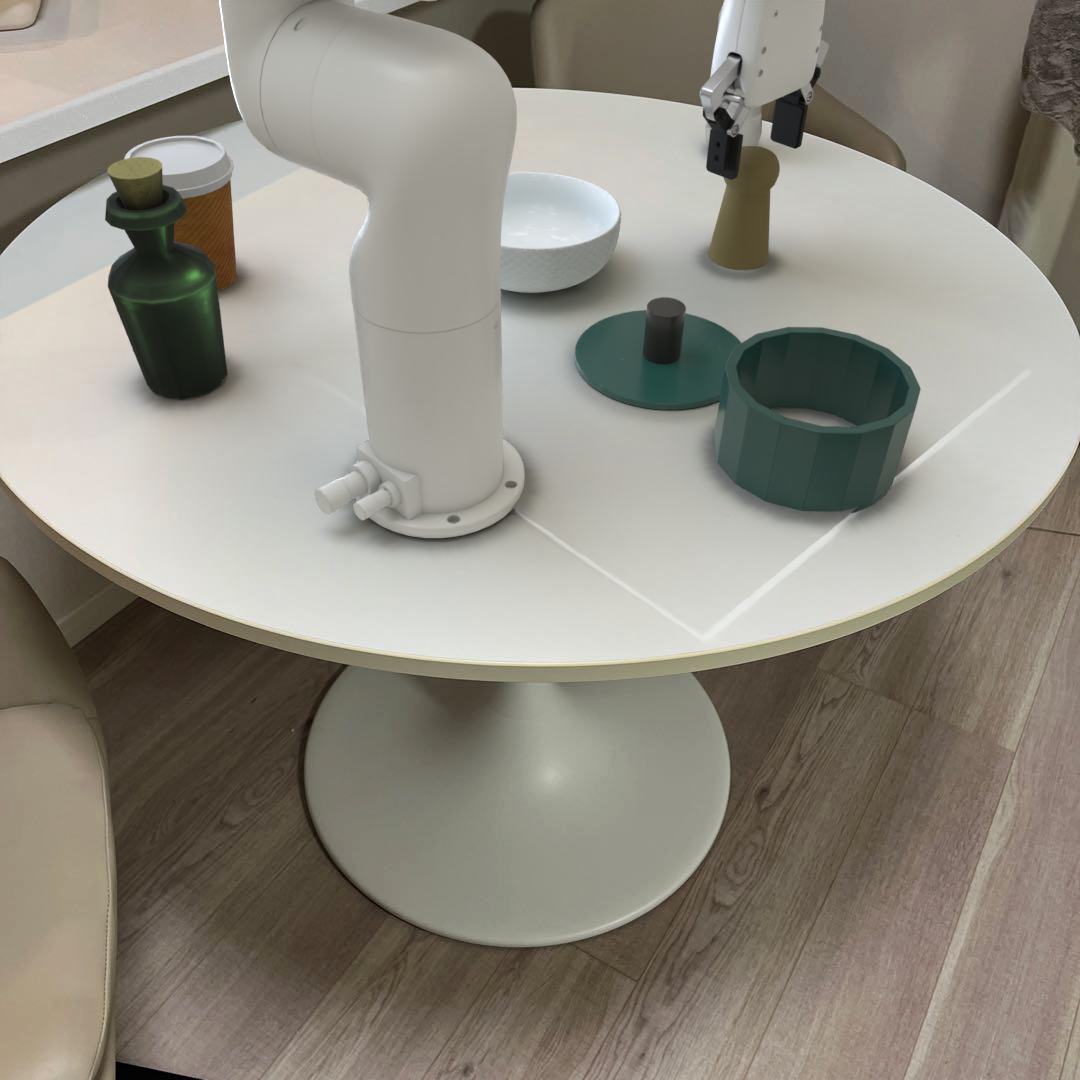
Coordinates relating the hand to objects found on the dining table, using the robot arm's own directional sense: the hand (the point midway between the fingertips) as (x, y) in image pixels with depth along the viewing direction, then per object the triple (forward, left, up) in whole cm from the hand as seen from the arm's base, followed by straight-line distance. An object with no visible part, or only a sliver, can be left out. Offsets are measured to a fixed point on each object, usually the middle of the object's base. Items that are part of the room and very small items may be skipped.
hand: (754, 158), depth 98 cm
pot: (-22, -23, -10) cm, 34 cm away
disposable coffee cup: (-40, +33, -10) cm, 53 cm away
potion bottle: (-50, +19, -10) cm, 55 cm away
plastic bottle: (+21, +17, -10) cm, 29 cm away
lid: (-20, -7, -10) cm, 24 cm away
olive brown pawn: (0, 0, -10) cm, 10 cm away
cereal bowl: (-17, +12, -10) cm, 23 cm away
